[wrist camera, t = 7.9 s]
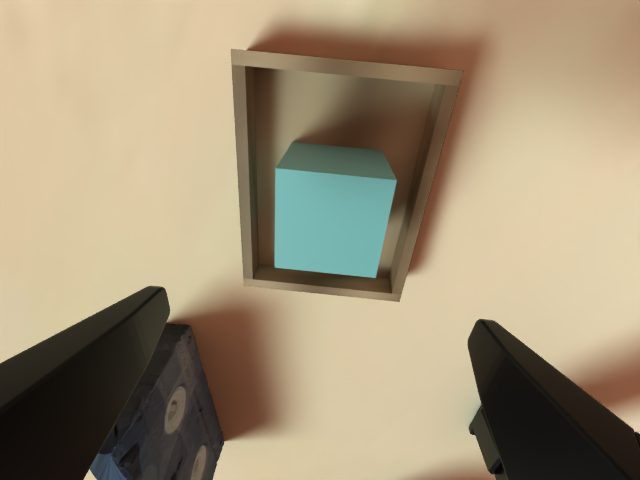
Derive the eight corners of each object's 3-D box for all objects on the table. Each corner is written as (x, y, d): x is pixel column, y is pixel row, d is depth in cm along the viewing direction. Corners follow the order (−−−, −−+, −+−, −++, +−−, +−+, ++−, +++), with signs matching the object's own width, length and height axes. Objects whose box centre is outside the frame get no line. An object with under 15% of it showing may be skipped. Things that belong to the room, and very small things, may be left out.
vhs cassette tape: (161, 320, 26) (70, 451, 17) (196, 323, 25) (122, 455, 17) (199, 439, 35) (152, 562, 26) (225, 441, 35) (186, 566, 26)
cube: (382, 150, 17) (397, 180, 12) (368, 230, 19) (375, 277, 15) (292, 141, 17) (275, 168, 13) (289, 222, 19) (274, 267, 15)
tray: (447, 69, 15) (463, 70, 13) (393, 280, 22) (399, 301, 20) (245, 50, 15) (230, 48, 13) (252, 265, 22) (243, 285, 20)
